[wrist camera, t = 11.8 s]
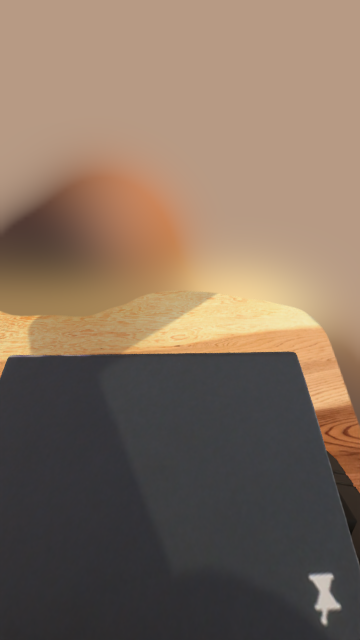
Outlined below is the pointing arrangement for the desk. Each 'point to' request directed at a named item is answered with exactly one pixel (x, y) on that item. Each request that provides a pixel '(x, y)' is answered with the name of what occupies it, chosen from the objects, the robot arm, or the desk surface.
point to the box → (169, 502)
